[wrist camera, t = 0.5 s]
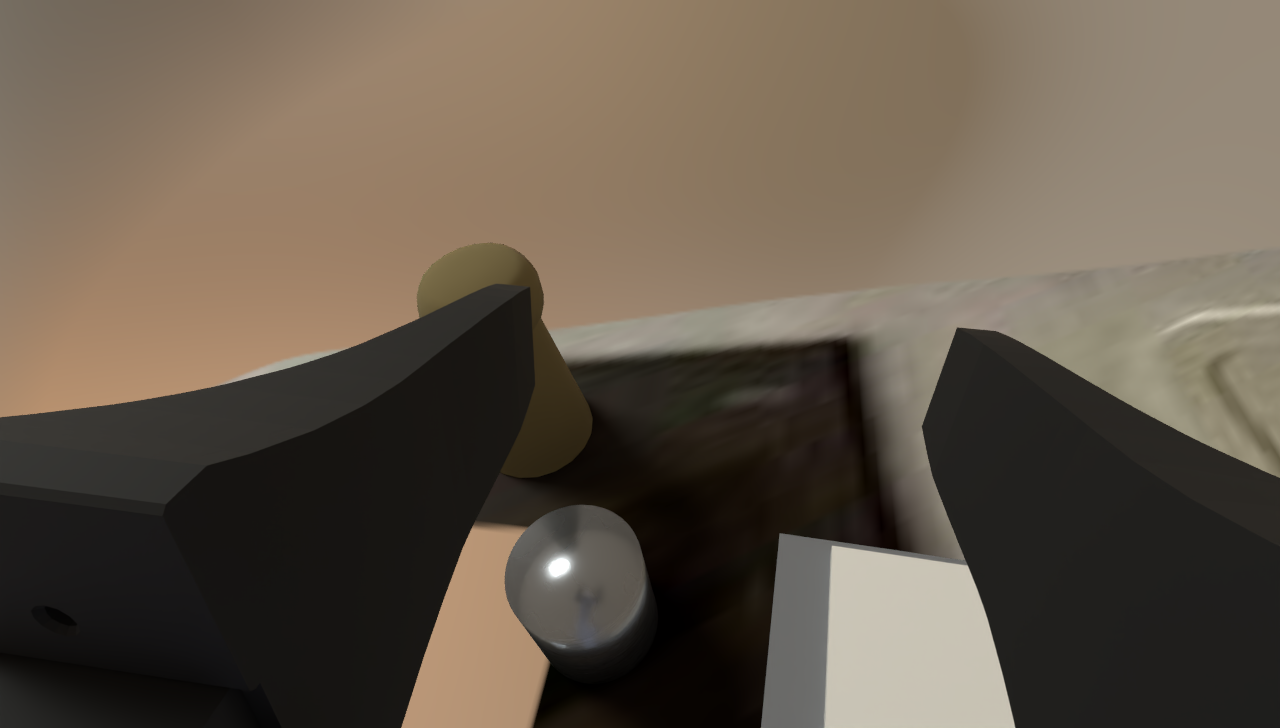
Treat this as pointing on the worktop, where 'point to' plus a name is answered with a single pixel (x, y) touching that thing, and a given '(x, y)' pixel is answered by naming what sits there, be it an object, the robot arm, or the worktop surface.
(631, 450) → the worktop surface
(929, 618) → the kitchen scale
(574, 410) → the cork
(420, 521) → the robot arm
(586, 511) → the cylinder
